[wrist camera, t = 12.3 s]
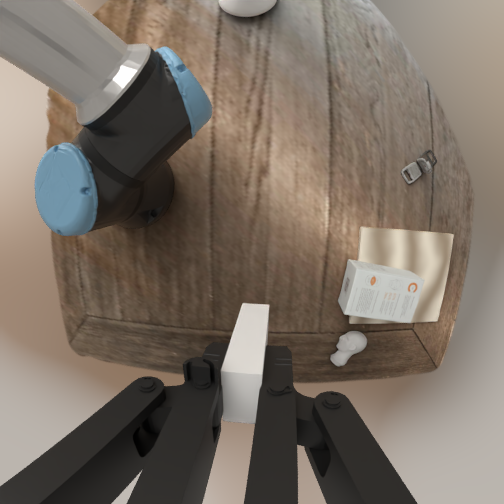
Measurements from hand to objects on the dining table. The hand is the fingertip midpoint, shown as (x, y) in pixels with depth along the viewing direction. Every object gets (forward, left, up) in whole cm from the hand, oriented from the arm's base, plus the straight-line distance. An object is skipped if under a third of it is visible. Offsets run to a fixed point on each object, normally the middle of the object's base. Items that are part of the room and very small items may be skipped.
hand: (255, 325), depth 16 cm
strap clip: (+27, +14, -35) cm, 46 cm away
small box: (+13, -7, -30) cm, 34 cm away
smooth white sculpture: (+16, -21, -35) cm, 43 cm away
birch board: (+26, -7, -34) cm, 43 cm away
